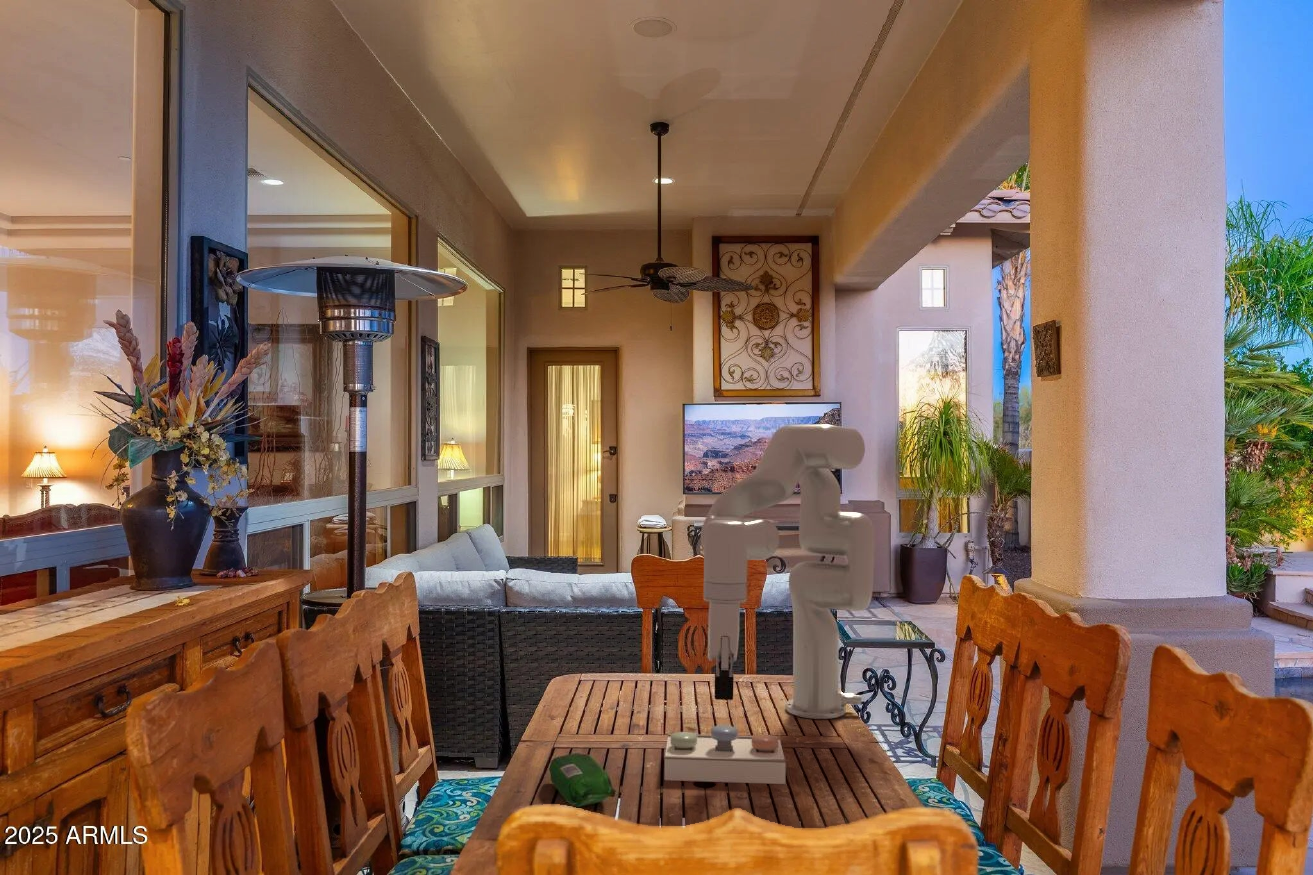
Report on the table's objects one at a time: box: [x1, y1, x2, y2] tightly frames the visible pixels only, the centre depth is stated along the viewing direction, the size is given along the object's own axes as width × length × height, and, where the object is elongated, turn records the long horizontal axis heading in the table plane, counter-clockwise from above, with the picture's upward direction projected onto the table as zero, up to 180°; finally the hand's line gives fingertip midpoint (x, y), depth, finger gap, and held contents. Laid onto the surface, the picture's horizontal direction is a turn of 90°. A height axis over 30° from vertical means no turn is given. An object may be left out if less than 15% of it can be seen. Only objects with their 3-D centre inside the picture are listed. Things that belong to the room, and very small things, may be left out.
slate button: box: [710, 725, 739, 752], centre depth 146 cm, size 5×5×4 cm
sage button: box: [671, 731, 697, 750], centre depth 147 cm, size 5×5×4 cm
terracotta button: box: [752, 733, 778, 753], centre depth 146 cm, size 5×5×4 cm
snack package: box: [548, 752, 617, 808], centre depth 134 cm, size 7×16×5 cm, turn 23°
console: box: [664, 733, 787, 785], centre depth 146 cm, size 20×12×4 cm, turn 86°
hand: (723, 698), depth 146 cm, fingers closed
